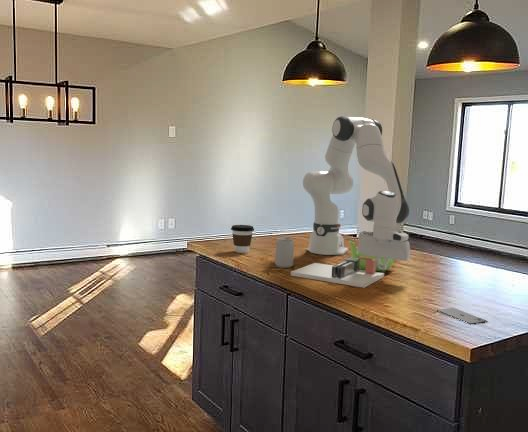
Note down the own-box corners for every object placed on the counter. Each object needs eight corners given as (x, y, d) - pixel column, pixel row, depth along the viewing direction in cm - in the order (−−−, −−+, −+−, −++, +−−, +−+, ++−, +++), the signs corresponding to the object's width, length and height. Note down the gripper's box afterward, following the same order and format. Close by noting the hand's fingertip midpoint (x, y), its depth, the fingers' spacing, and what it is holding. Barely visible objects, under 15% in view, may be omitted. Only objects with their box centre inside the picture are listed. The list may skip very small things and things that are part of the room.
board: (314, 266, 238) (315, 262, 238) (383, 276, 223) (384, 273, 223) (290, 275, 219) (290, 271, 219) (364, 287, 204) (364, 283, 204)
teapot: (353, 274, 225) (355, 242, 224) (338, 266, 240) (340, 236, 238) (402, 273, 231) (404, 241, 230) (385, 265, 246) (387, 235, 244)
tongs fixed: (348, 268, 229) (348, 257, 228) (359, 270, 226) (359, 258, 226) (329, 276, 213) (330, 264, 212) (341, 278, 210) (342, 266, 210)
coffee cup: (258, 252, 263) (258, 227, 262) (238, 254, 257) (238, 228, 256) (245, 248, 272) (246, 224, 271) (225, 250, 266) (226, 225, 265)
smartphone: (453, 307, 182) (489, 320, 168) (453, 309, 182) (489, 323, 168) (435, 309, 178) (470, 323, 165) (435, 311, 179) (470, 326, 165)
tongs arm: (344, 270, 224) (345, 260, 224) (348, 270, 224) (348, 261, 223) (331, 276, 212) (332, 266, 212) (335, 277, 211) (335, 267, 211)
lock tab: (359, 270, 226) (360, 256, 225) (375, 272, 223) (376, 258, 222) (357, 271, 224) (357, 257, 223) (372, 273, 220) (373, 259, 220)
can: (291, 269, 231) (292, 240, 230) (273, 267, 233) (274, 238, 231) (294, 265, 238) (295, 237, 237) (276, 264, 240) (277, 236, 238)
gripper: (356, 231, 221) (354, 266, 222) (408, 237, 210) (405, 273, 212) (361, 229, 226) (359, 263, 228) (412, 235, 216) (410, 271, 218)
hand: (382, 268), depth 220 cm, fingers closed
